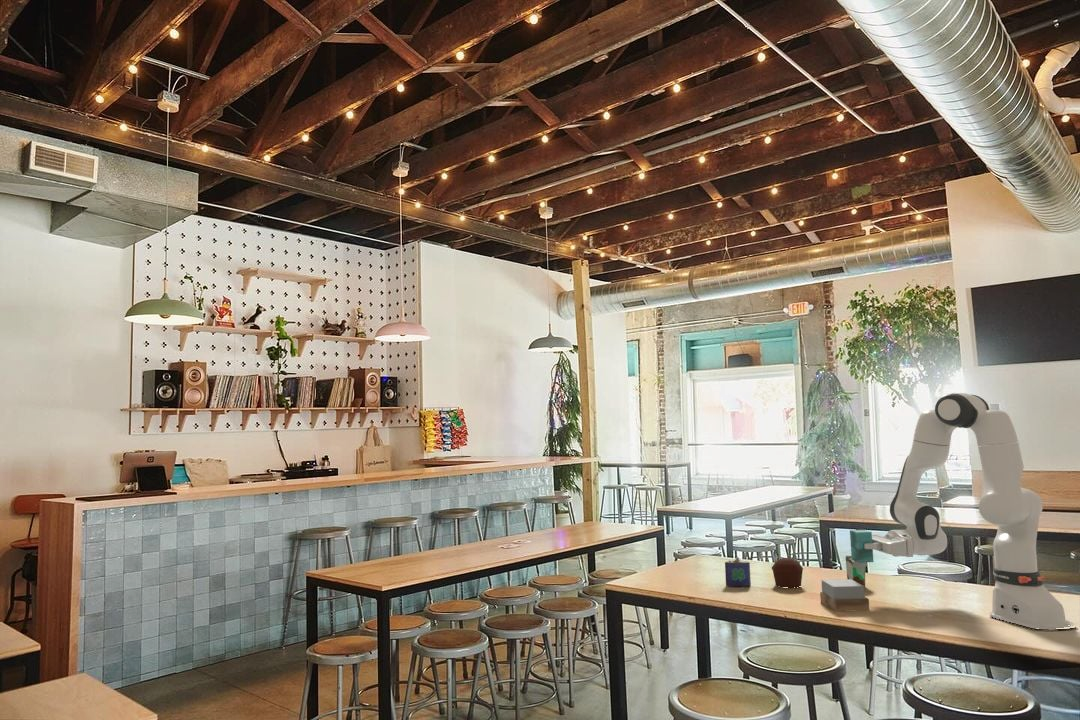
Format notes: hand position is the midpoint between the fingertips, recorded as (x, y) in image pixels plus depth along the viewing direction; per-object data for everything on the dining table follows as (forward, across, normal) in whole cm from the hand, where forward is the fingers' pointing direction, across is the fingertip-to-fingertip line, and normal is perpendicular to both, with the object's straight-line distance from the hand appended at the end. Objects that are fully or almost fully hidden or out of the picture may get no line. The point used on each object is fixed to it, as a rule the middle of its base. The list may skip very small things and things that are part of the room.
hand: (858, 544), depth 243 cm
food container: (-10, -21, +19) cm, 30 cm away
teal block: (-1, 0, +6) cm, 6 cm away
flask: (+33, -29, +19) cm, 47 cm away
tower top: (+9, +5, +15) cm, 18 cm away
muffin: (+15, -26, +19) cm, 35 cm away
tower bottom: (+9, +5, +20) cm, 22 cm away
